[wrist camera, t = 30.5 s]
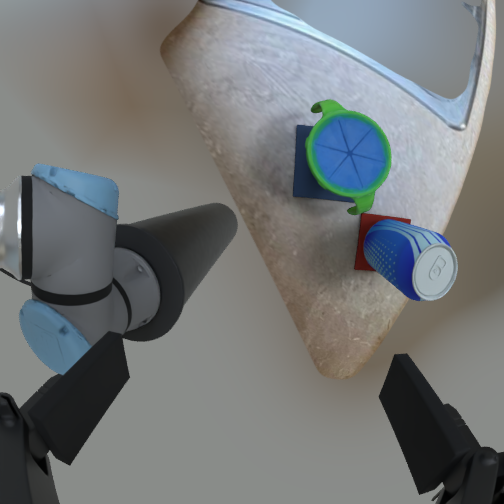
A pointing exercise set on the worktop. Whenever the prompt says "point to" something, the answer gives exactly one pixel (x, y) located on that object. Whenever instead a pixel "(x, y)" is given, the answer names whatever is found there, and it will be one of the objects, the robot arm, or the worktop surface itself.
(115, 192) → the robot arm
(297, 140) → the blue mat
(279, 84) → the worktop surface
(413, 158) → the worktop surface
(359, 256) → the red mat
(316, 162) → the snack cup
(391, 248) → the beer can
